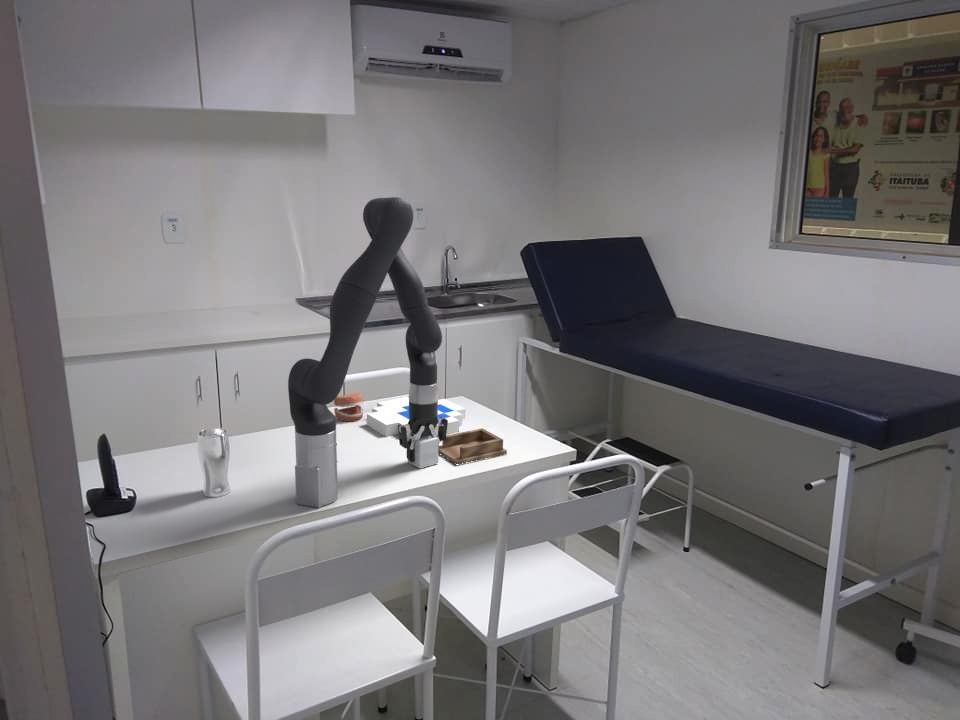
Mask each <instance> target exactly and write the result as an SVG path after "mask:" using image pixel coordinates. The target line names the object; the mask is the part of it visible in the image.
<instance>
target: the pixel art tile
mask: <svg viewBox="0 0 960 720" xmlns="http://www.w3.org/2000/svg"><path fill="white" fill-rule="evenodd" d="M376 403H377V404H376V406H375V407H372V408H371V412H368V413H366V426H368V427H369V426H370V427H369V428H371V429H373V430H374V431H376V432H378V433H380V434H381V435H383V436H384V435H385V437H386V438H388V437H392V435H393V436H396V434H398V425H399V424H401V425H405V424H408V422H409V396H406V397H399V398H393V399H389V400H384V401H383V400H382V401H378V402H376ZM440 417H443V418H445V419H447V420H448V425H447V434H448V435H451V434H450V433H453V434H456V433H455V432H457V433H459V432H460V427H461V426H460V425H462V426H463V421H464V420H463V419H465V420H466V408H464V407H462V406H461V405H458V404H457V403H453V402H452V401H450V400H447V399H445V398H442V399H438V415H437V418H440ZM438 428H439V425H438V424H437V426H436V427H435V431H436V433H437V435H438ZM410 431H411V430H410V428H409V429H408V433H407V437H408V436H409V433H410ZM458 431H459V432H458ZM398 435H399V434H398Z"/></svg>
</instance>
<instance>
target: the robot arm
mask: <svg viewBox="0 0 960 720" xmlns="http://www.w3.org/2000/svg"><path fill="white" fill-rule="evenodd" d="M362 219H363V220H362V221H363V224H364V227H365V229H366V231H367V234H368V235H369V238H370V239H371V241H370V243H369V244H368V246H367V247H366V248H365V250H364V251H363V253H361V254H360V255H359V257H358V258H357V259H356V260H355V261H354V262H352V264H351V265H350V266H349V267H348V268H347V269H346V271H345V272H344V273H343V275H342V276H341V278H340V280H339V282H338V284H337V286H336V288H335V291H334V293H333V295H332V297H331V300H330V305H329V328H330V329H329V331H330V332H329V338H328V342H327V346H326V348H325V350H324V353H323V355H322V357H321V359H320V360H317V359H313V358H302V359H299V360H298V361H296V362H295V363H294V364H293V366H291V369H290V372H289V375H288V381H287V387H288V388H287V389H288V401H289V412H290V416H291V420H292V421H293V424H294V435H295V436H294V439H295V440H294V441H295V442H294V443H295V465H294V477H295V478H294V481H295V500H296V501H295V502H296V505H300V506H301V505H303V506H308V507H312V508H313V507H315V508H319V509H320V508H321V507H323V506H326V505H327V506H328V505H330V504H332V503H334V502H336V501H337V499H338V497H339V495H338V494H339V493H338V490H339V489H338V462H337V461H338V456H337V455H338V452H337V447H336V443H337V419H336V415H335V414H334V413H333V412H332V411H331V409H329V408H328V406H327V405H328V404H331V403H332V402H334V399H335V398H336V397H337V396H339V394H340V392H341V391H342V388H343V385H344V382H345V380H346V377H347V375H348V371H349V367H350V363H351V361H352V359H353V355H354V352H355V349H356V347H357V344H358V342H359V339H360V336H361V334H362V331H363V329H364V327H365V326H366V323H367V320H368V318H369V317H370V314H371V312H372V309H373V307H374V305H375V303H376V301H377V298H378V295H379V293H380V290H381V288H382V286H383V284H384V282H385V279H386V277H387V275H388V276H389V279H390V281H391V285H392V288H393V290H394V293H395V296H396V299H397V303H398V305H399V308H400V312H401V314H402V315H403V317H404V318H406V320H407V321H408V322H409V323H410V324H409V326H408V327H407V329H406V333H405V347H406V352H407V357H408V362H409V386H408V397H409V422H408V424H405V425H401V424H399V425H398V440H399V441H398V442H399V445H400V446H401V447H402V448H404V449H406V459H407V461H408V460H409V461H410V462H414V460H415V449H414V447H415V444H416V441H418V440H419V438H420V437H423V436H430V435H431V436H432V437H434V438H435V437H437V438H438V455H440V454H439V446H440V443H442V441H445V440H446V434H447V425H448V420H447V419H445V418H443V417H440V418H437V415H438V400H439V389H438V388H439V387H438V364H437V362H436V360H435V359H434V358H433V356H432V353H435V352H436V351H437V350H439V349H440V347H441V345H442V342H443V333H442V331H441V327H440V325H439V322H438V320H437V318H436V317H435V315H434V313H433V311H432V309H431V307H430V305H429V302H428V301H429V300H428V298H427V294H426V291H425V287H424V285H423V281H422V280H421V278H420V276H419V275H418V272H417V271H416V270H415V269H414V266H413V265H412V264H411V262H410V261H409V259H407V256H406V255H405V253H404V252H403V250H402V248H401V247H402V245H403V244H404V242H405V240H406V238H407V237H408V235H409V233H410V231H411V229H412V226H413V222H414V209H413V207H412V204H411V203H410V202H409V201H408V200H407V199H405V198H403V197H398V196H397V197H396V196H395V197H394V196H390V197H378V198H377V197H376V198H373V199H370V200H368V202H367V203H366V204H365V205H364V208H363V212H362ZM437 424H438V425H439V428H438V435H437V433H436V431H435V427H436V426H437ZM409 428H410V430H411V431H410V433H409V436H408V440H407V433H408V429H409ZM414 435H415V437H414ZM411 440H412V442H411Z"/></svg>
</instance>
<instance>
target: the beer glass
mask: <svg viewBox="0 0 960 720" xmlns="http://www.w3.org/2000/svg"><path fill="white" fill-rule="evenodd" d="M229 441H230V440H229V434H228V429H226V428H223V427H208V428H204V429H201V430H199V431H198V432H197V453H198V454H197V456H198V461H199V464H200V468H201V472H202V474H203V475H202V477H203V489H202V494H203V495H204V496H205V497H208V498H218V497H223V496H226V495H228V494H229V493H230V491H231V486H230V484H229V480H228V479H229V478H228V471H229V462H230V454H231V453H230V451H231V450H230V442H229Z"/></svg>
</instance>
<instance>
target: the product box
mask: <svg viewBox="0 0 960 720" xmlns="http://www.w3.org/2000/svg"><path fill="white" fill-rule="evenodd" d="M414 437H415V435H414ZM407 440H408V437H407ZM411 442H412V440H411ZM414 449H415V460H414V462H410V461H409V460H408V459H407V463H409V464H411V465H413V466H414V467H417V468H418V469H424V467H425V468H427V466H428V467H430V466H435V465H437V463H438V464H439V454H438V438H437V437H435V438H434V437H432V436H431V435H430V436H423V437H420V438H419V440H418V441H416V444H415V447H414ZM434 464H435V465H434Z"/></svg>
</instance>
